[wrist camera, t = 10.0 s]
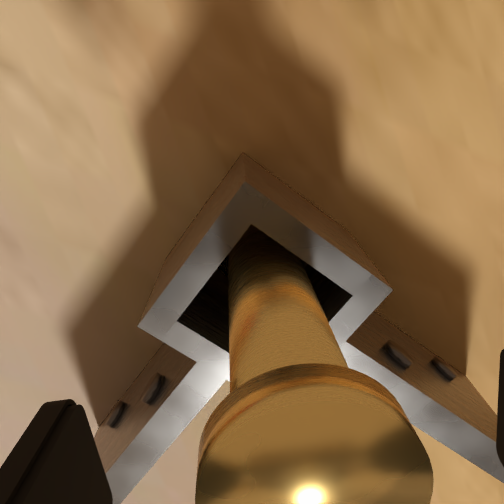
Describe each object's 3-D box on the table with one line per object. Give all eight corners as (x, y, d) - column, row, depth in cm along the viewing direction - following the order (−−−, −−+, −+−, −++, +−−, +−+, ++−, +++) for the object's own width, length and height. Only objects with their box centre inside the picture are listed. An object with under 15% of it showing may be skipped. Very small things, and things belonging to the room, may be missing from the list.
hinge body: (500, 345, 22) (591, 434, 16) (300, 532, 26) (317, 655, 20) (242, 152, 18) (244, 181, 13) (58, 406, 22) (-3, 514, 17)
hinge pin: (322, 234, 20) (482, 472, 7) (267, 301, 21) (329, 608, 8) (249, 182, 19) (296, 356, 6) (196, 254, 20) (147, 526, 7)
